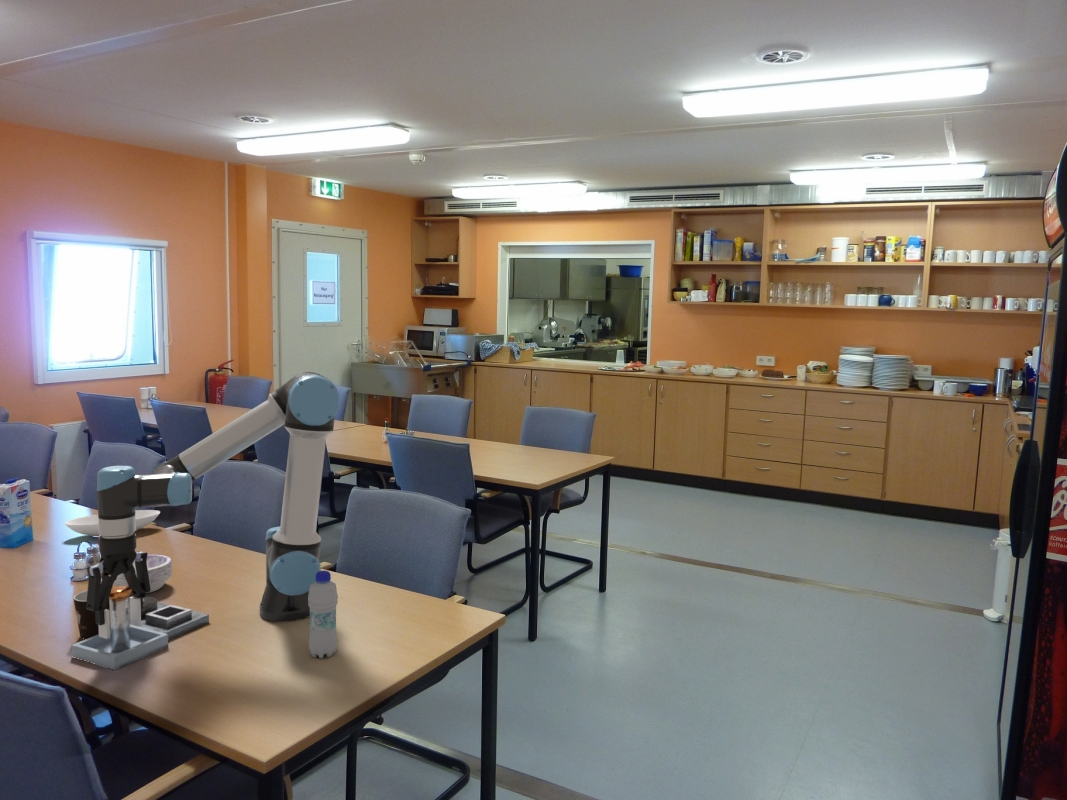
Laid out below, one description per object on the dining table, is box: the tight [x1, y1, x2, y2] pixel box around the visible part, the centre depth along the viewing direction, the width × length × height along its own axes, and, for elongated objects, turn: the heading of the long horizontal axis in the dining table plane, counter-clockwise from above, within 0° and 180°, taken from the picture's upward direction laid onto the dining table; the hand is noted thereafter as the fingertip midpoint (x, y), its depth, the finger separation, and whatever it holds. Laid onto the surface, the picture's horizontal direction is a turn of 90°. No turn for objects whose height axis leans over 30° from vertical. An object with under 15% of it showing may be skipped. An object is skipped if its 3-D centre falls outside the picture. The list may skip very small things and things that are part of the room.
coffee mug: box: [72, 589, 110, 640], centre depth 183 cm, size 12×9×10 cm
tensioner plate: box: [129, 596, 210, 641], centre depth 192 cm, size 22×14×5 cm, turn 66°
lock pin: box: [109, 586, 133, 653], centre depth 175 cm, size 5×5×14 cm
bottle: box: [308, 570, 339, 659], centre depth 177 cm, size 7×7×20 cm
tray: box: [70, 624, 169, 671], centre depth 176 cm, size 14×14×3 cm
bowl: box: [64, 509, 161, 537], centre depth 270 cm, size 30×15×6 cm, turn 129°
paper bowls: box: [113, 554, 173, 594], centre depth 216 cm, size 15×15×8 cm
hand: (120, 630), depth 176 cm, fingers open, 7 cm apart
